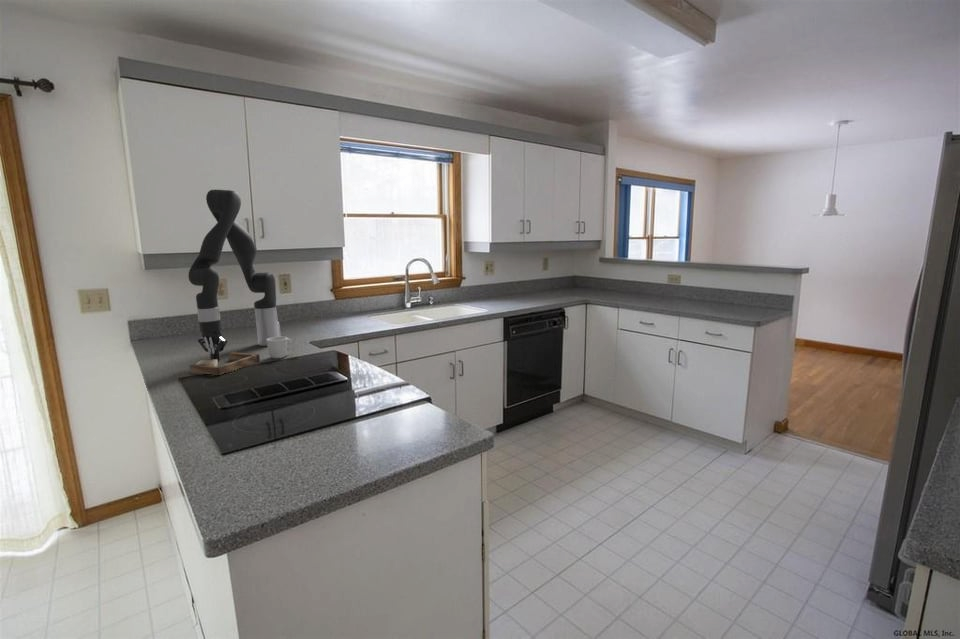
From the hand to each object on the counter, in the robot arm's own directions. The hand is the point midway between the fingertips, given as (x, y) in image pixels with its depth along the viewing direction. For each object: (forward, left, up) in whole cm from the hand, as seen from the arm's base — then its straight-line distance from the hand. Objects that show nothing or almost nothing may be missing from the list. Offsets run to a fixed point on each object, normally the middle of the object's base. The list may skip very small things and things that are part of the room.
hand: (215, 362), depth 190 cm
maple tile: (+5, +1, -1) cm, 5 cm away
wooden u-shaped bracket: (+1, +6, -2) cm, 6 cm away
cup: (-18, +16, -2) cm, 24 cm away
